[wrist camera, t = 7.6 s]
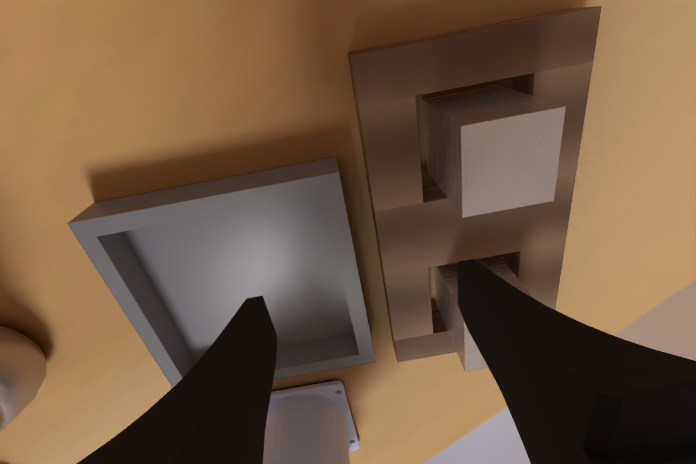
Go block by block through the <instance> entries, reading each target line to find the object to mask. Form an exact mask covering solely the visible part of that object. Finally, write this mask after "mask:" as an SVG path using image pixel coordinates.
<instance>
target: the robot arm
mask: <svg viewBox="0 0 696 464" xmlns="http://www.w3.org/2000/svg"><path fill="white" fill-rule="evenodd" d="M457 265H458V306H459V308H460V311H461V314H462V316H463V319H464V321H465V324H466V326H467V329H468V331H469V333H470V335H471V336H472V338H473V340H474V342H475V344H476V346H477V347H478V349H479V351H480V353H481V355H482V357H483V358H484V360H485V362H486V364H487V366H488V367H489V369H490V371H491V373H492V375H493V377H494V378H495V380H496V382H497V384H498V386H499V388H500V390H501V392H502V394H503V396H504V399H505V401H506V404H507V406H508V408H509V411H510V413H511V415H512V418H513V420H514V422H515V424H516V427H517V430H518V432H519V434H520V437H521V440H522V442H523V444H524V447H525V449H526V452H527V454H528V457H529V460H530V462H531V464H696V361H694V360H690V359H686V358H683V357H679V356H676V355H672V354H668V353H665V352H661V351H657V350H654V349H651V348H648V347H644V346H642V345H639V344H636V343H632V342H630V341H626V340H624V339H621V338H618V337H615V336H613V335H610V334H607V333H605V332H602V331H600V330H598V329H595V328H593V327H590V326H588V325H585V324H583V323H581V322H579V321H576V320H574V319H572V318H570V317H568V316H566V315H564V314H562V313H560V312H558V311H556V310H554V309H552V308H550V307H548V306H546V305H544V304H543V303H541V302H539V301H537V300H536V299H534V298H532V297H531V296H529V295H527V294H526V293H524V292H522V291H521V290H519V289H518V288H516V287H514V286H513V285H511V284H510V283H508V282H507V281H505V280H504V279H502V278H501V277H499V276H498V275H497V274H495V273H494V272H492V271H491V270H489V269H488V268H487V267H485V266H484V265H482V264H481V263H480V262H478V261H477V260H475V259H470V260H464V261H459V262H457ZM276 355H277V334H276V331H275V329H274V326H273V323H272V320H271V317H270V315H269V312H268V309H267V306H266V303H265V301H264V298H263V296H257V297H252V298H246V300H245V301H244V302H243V304H242V305H241V306H240V308H239V309H238V310H237V312H236V313H235V315H234V316H233V317H232V319H231V320H230V322H229V323H228V324H227V326H226V327H225V328H224V330H223V331H222V332H221V334H220V335H219V336H218V338H217V339H216V340H215V342H214V343H213V344H212V345H211V346H210V348H209V349H208V350H207V351H206V352H205V354H204V355H203V356H202V357H201V358H200V360H199V361H198V362H197V363H196V364H195V365H194V366H193V368H192V369H191V370H190V371H189V372H188V373H187V374H186V375H185V376H184V377H183V378H182V379H181V380H180V381H179V382H178V383H177V384H176V385H175V386H174V387H173V388H172V389H171V390H170V391H169V392H168V393H167V394H166V395H164V396H163V397H162V398H161V399H160V400H159V401H158V402H157V403H156V404H154V405H153V406H152V407H151V408H150V409H149V410H148V411H147V412H145V413H144V414H143V415H142V416H141V417H139V418H138V419H137V420H136V421H134V422H133V423H132V424H131V425H129V426H128V427H127V428H126V429H124V430H123V431H122V432H120V433H119V434H118V435H117V436H115V437H114V438H113V439H111V440H110V441H108V442H107V443H106V444H104V445H103V446H101V447H100V448H98V449H97V450H96V451H94V452H93V453H91V454H90V455H88V456H87V457H86V458H84V459H83V460H81V461H80V462H78V463H77V464H350V459H349V451H355V450H357V449H359V441H358V437H357V434H356V430H355V426H354V423H353V419H352V415H351V412H350V408H349V404H348V401H347V397H346V394H345V390H344V386H343V383H342V382H341V381H331V382H325V383H319V384H314V385H308V386H302V387H296V388H291V389H285V390H279V391H273V392H271V391H272V385H273V379H274V373H275V366H276Z"/></svg>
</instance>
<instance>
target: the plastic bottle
mask: <svg viewBox="0 0 696 464" xmlns="http://www.w3.org/2000/svg"><path fill="white" fill-rule="evenodd" d="M45 376H46V359H45V356H44V353H43V352H42V350H41V349H40V347H39V346H38V345H37V344H36V343H35V342H33V341H32V340H31V339H29V338H28V337H26V336H25V335H23V334H21V333H19V332H17V331H14V330H12V329H9V328H6V327H2V326H0V431H1V430H3V429H4V428H5V427H6V426H7V425H8V424H10V423H11V422H12V421H13V420H14V419H15V418H16V417H17V416H18V415H19V414H20V413H21V412H22V411H23V410H24V409H25V408H26V407H27V406H28V404H29V403H30V402H31V401H32V400H33V399H34V398H35V396H36V394H37V392H38V390H39V388H40V386H41V385H42V383H43V381H44V379H45Z"/></svg>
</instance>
